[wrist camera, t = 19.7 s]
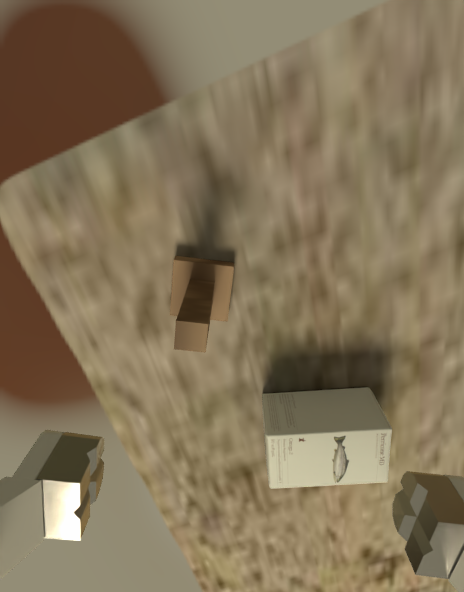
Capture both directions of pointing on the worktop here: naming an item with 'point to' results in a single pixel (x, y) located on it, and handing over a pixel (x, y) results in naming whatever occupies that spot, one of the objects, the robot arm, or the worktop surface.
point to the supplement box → (325, 438)
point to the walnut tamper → (199, 299)
